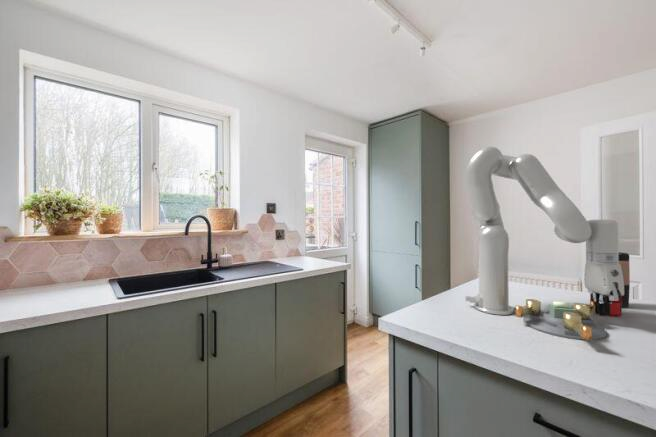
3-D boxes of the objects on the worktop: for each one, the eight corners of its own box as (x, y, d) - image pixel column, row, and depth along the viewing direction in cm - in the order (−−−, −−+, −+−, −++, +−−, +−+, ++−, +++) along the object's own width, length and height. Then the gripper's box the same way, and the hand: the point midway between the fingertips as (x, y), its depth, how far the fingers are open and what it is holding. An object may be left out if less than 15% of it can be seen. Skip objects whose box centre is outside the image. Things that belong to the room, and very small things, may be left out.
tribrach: (533, 334, 84) (533, 308, 84) (516, 312, 102) (516, 291, 102) (622, 344, 76) (622, 316, 76) (586, 318, 95) (586, 296, 95)
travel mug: (595, 302, 113) (595, 251, 112) (615, 302, 112) (615, 251, 112) (614, 308, 105) (614, 254, 105) (635, 308, 105) (635, 254, 104)
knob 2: (587, 320, 88) (587, 307, 88) (571, 316, 91) (571, 304, 91) (602, 313, 93) (602, 301, 93) (587, 310, 97) (587, 298, 97)
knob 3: (561, 324, 85) (560, 311, 85) (577, 326, 83) (577, 312, 83) (578, 340, 74) (578, 325, 74) (598, 342, 73) (598, 327, 73)
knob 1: (529, 310, 98) (529, 298, 98) (543, 313, 94) (543, 301, 94) (511, 316, 92) (510, 304, 92) (524, 320, 89) (524, 307, 89)
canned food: (628, 317, 96) (628, 285, 96) (600, 316, 97) (600, 284, 97) (610, 310, 103) (610, 280, 103) (585, 309, 105) (585, 279, 105)
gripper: (636, 261, 83) (637, 324, 83) (596, 254, 98) (597, 307, 98) (607, 261, 84) (608, 323, 84) (572, 254, 99) (573, 307, 99)
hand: (602, 314), depth 91 cm, fingers closed
